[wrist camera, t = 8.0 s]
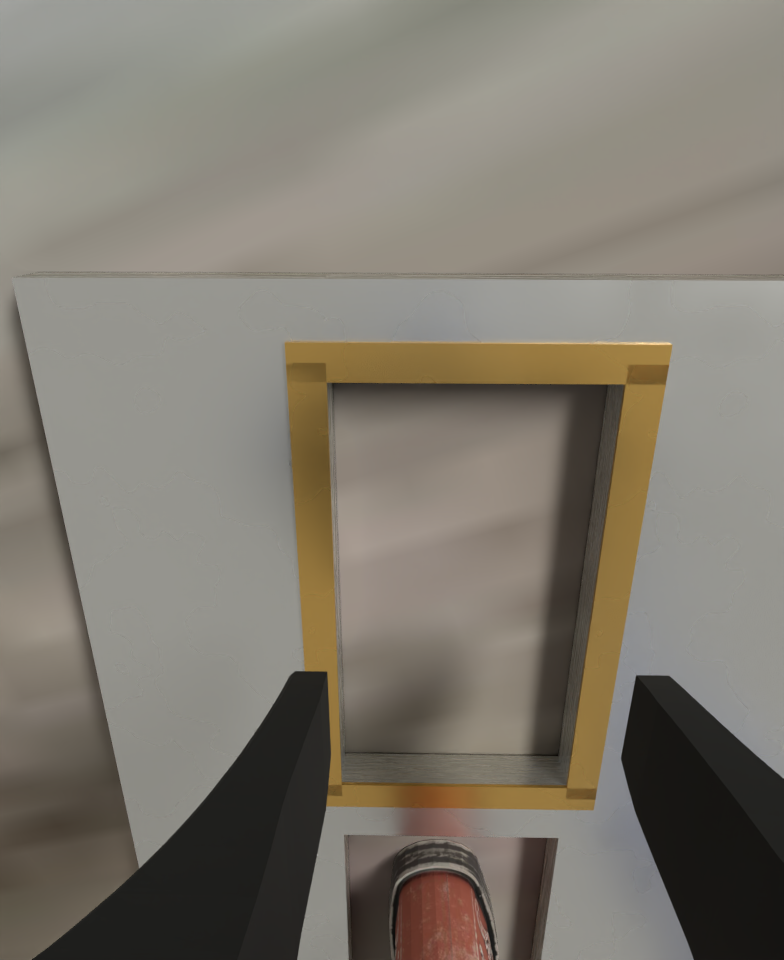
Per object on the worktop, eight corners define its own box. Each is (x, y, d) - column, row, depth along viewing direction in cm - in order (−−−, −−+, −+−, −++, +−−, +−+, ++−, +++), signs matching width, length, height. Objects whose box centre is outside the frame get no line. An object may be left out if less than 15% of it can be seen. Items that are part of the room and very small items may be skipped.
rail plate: (679, 1064, 24) (691, 1101, 23) (195, 1055, 25) (186, 1091, 24) (920, 275, 13) (963, 282, 12) (37, 272, 14) (8, 278, 13)
